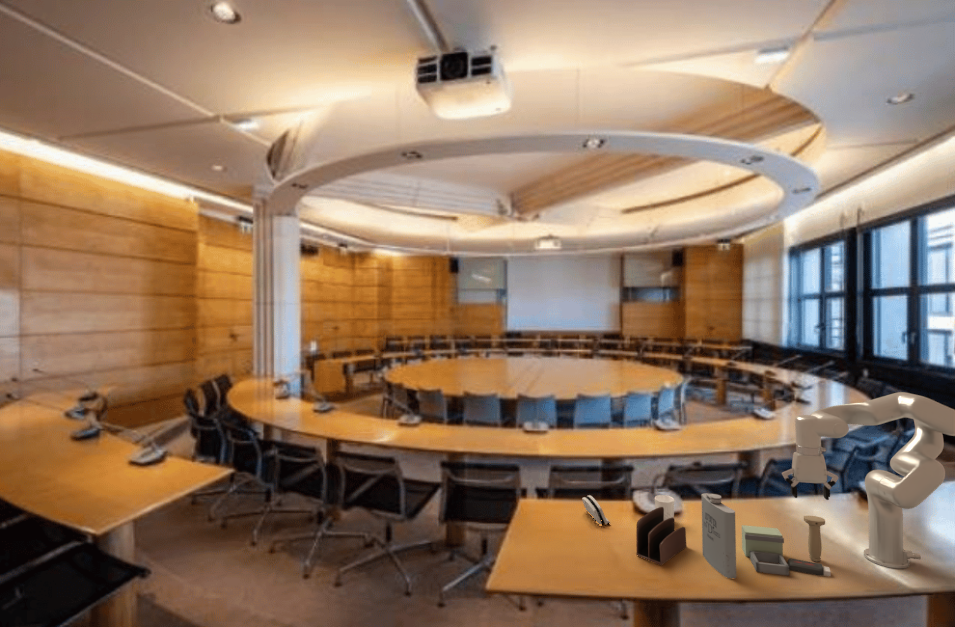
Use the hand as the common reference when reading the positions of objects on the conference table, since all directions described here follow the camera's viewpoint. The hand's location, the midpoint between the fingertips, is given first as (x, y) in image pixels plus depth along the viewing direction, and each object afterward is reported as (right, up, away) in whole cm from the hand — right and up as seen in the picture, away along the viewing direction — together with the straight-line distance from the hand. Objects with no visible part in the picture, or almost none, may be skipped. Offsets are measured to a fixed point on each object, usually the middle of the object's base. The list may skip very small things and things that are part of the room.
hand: (810, 497), depth 178 cm
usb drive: (-5, -23, -7) cm, 25 cm away
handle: (+1, -23, 0) cm, 23 cm away
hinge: (-68, -24, +39) cm, 82 cm away
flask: (-35, -24, -2) cm, 42 cm away
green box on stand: (-16, -23, -1) cm, 28 cm away
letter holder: (-50, -24, +9) cm, 56 cm away
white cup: (-40, -23, +34) cm, 57 cm away
